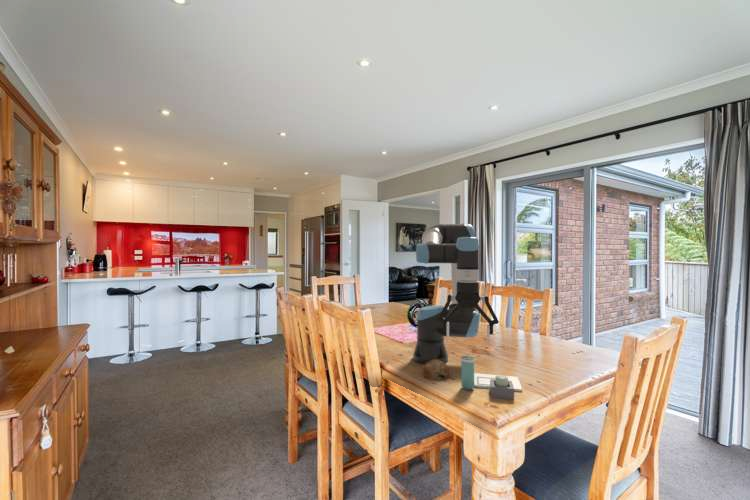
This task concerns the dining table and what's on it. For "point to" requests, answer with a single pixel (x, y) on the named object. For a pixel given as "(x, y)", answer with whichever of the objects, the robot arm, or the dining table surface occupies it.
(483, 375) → the sheet
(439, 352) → the robot arm
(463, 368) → the white-capped teal capsule
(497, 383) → the button
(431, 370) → the bread roll
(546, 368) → the dining table surface
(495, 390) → the button housing
